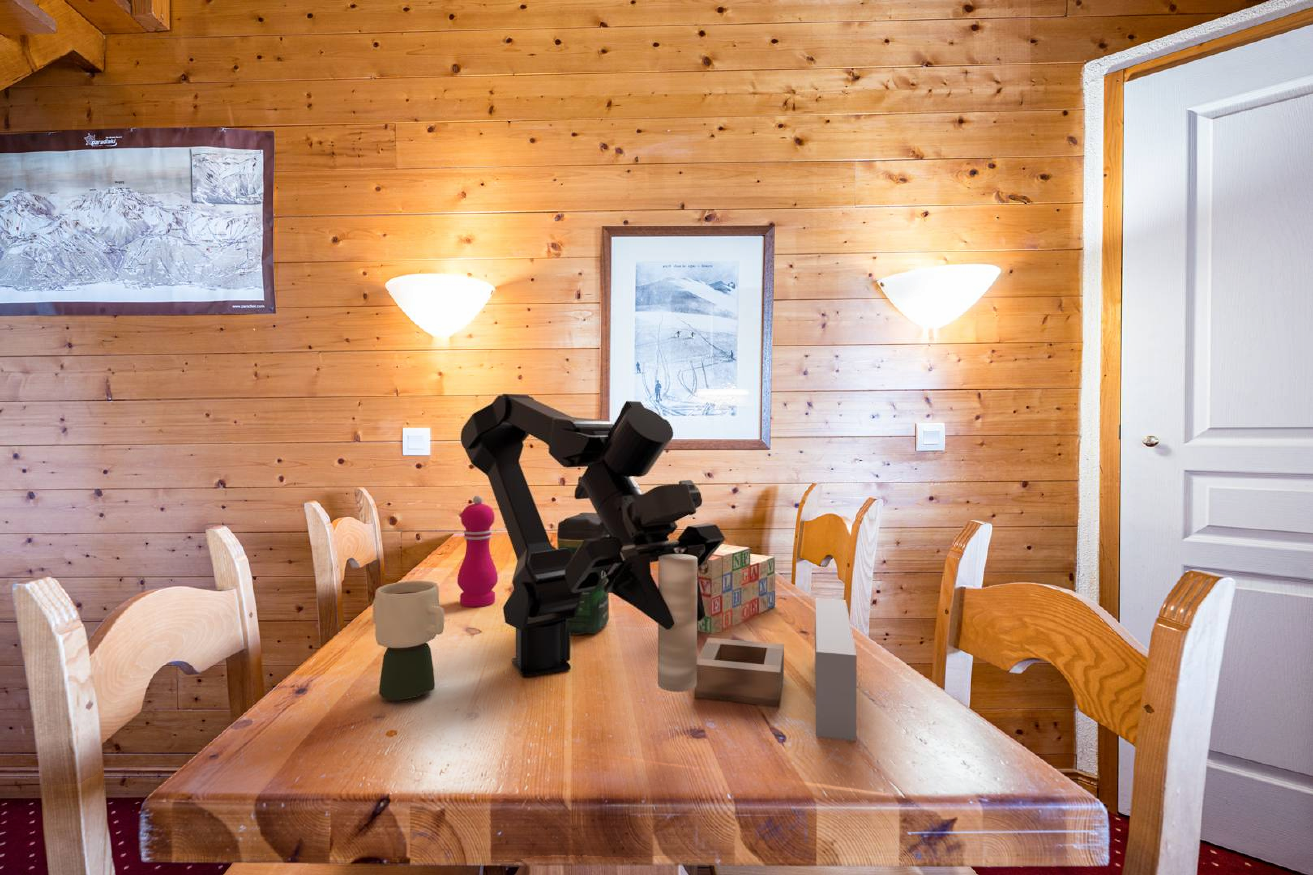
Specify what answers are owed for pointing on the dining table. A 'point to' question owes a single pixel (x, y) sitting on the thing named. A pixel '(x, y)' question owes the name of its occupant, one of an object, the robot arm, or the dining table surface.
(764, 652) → the socket block
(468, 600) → the pepper mill
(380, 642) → the character mug
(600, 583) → the coffee jar
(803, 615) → the dining table surface
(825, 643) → the board
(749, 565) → the stack of blocks
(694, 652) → the dowel
